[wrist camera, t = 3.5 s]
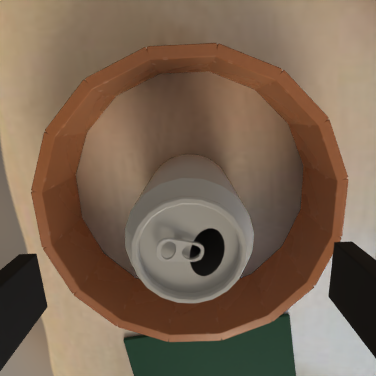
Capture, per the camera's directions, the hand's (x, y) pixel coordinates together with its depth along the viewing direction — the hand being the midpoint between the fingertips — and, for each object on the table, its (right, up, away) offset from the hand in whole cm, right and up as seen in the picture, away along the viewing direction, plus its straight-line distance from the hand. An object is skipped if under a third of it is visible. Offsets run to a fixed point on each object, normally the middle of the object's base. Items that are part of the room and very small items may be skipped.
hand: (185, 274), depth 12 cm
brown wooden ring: (0, +3, +14) cm, 14 cm away
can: (0, +4, +14) cm, 14 cm away
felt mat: (+3, -18, +19) cm, 26 cm away
